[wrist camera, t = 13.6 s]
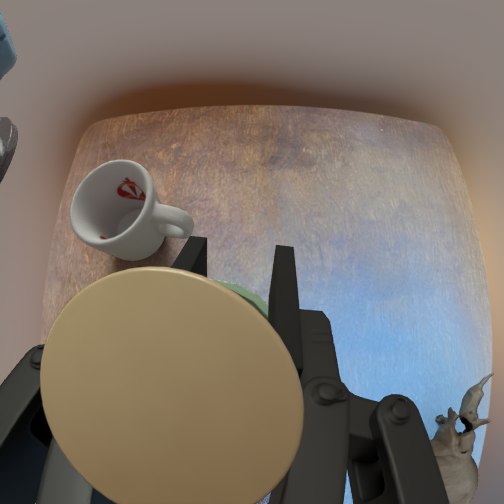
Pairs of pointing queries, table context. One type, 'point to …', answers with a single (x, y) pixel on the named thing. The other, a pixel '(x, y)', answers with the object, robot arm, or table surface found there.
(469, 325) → the table surface
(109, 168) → the cup
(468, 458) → the grey animal figure
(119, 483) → the tan wooden cylinder
